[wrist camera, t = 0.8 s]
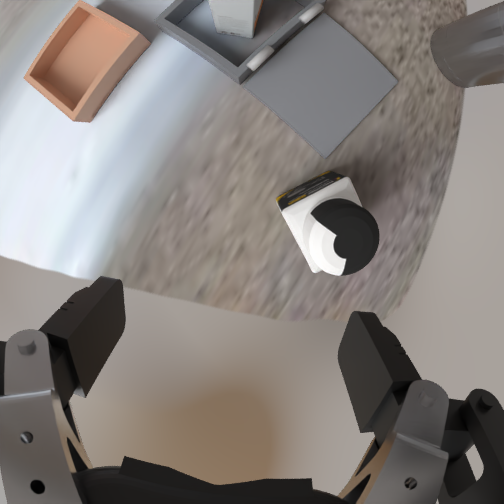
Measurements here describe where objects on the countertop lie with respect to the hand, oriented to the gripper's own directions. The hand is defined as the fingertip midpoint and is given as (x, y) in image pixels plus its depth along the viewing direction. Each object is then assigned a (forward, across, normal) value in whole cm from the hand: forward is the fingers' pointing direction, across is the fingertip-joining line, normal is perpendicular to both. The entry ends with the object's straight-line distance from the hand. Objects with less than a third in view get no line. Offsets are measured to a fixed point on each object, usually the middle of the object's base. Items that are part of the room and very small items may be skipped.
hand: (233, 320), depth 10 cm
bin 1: (+24, +22, -16) cm, 36 cm away
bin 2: (+25, -1, -18) cm, 31 cm away
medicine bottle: (+25, -8, +1) cm, 26 cm away
